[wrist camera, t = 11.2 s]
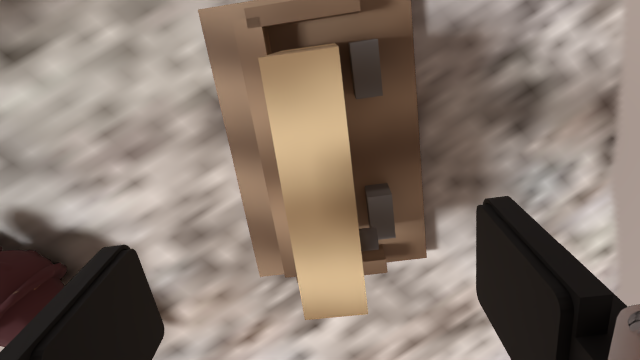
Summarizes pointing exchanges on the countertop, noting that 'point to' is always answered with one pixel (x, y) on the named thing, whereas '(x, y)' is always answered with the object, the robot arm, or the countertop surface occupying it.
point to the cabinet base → (361, 112)
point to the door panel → (317, 178)
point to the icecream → (25, 289)
